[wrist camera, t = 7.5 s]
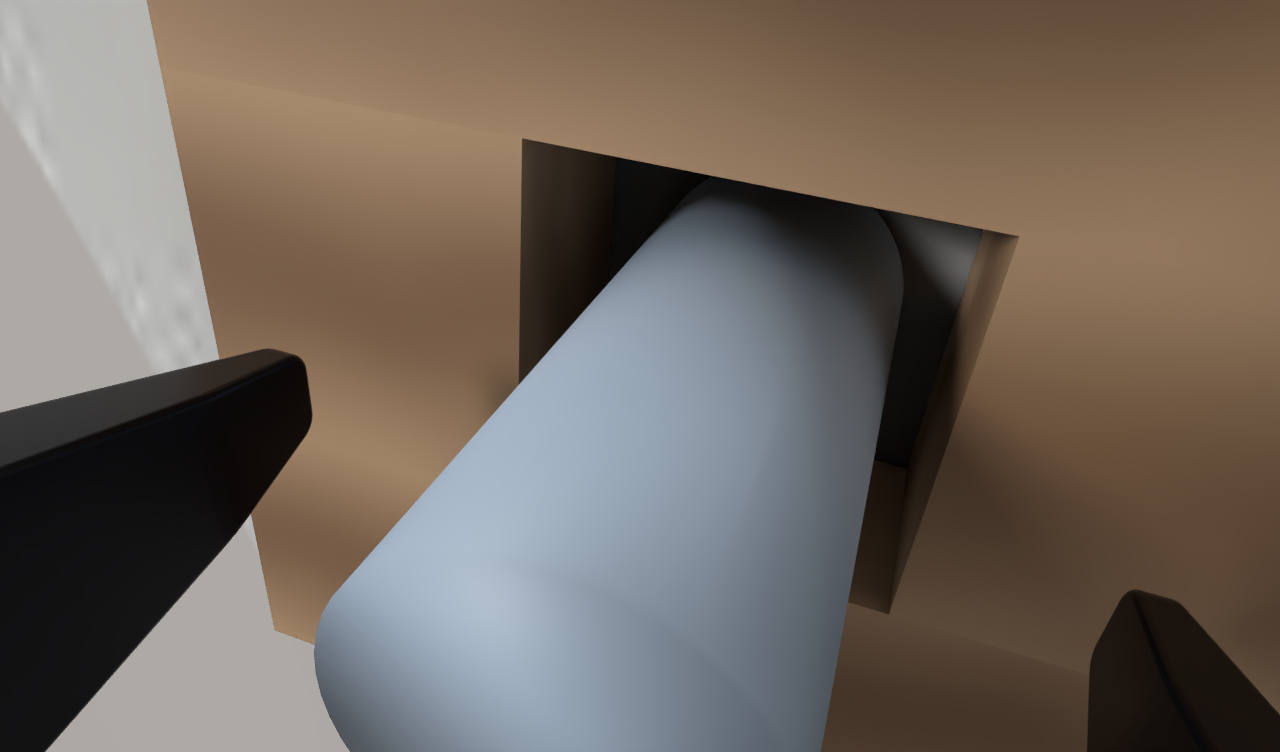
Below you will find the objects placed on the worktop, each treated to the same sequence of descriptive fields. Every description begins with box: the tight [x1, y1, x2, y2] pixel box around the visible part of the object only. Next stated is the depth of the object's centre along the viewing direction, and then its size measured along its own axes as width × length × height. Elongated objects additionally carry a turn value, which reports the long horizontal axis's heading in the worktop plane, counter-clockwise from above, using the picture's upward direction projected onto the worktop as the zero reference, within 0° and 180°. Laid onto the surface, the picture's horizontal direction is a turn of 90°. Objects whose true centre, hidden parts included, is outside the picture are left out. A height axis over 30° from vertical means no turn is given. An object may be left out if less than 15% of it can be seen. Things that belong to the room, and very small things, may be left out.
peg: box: [314, 176, 904, 752], centre depth 10 cm, size 4×4×9 cm
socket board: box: [147, 0, 1280, 752], centre depth 12 cm, size 16×16×4 cm
